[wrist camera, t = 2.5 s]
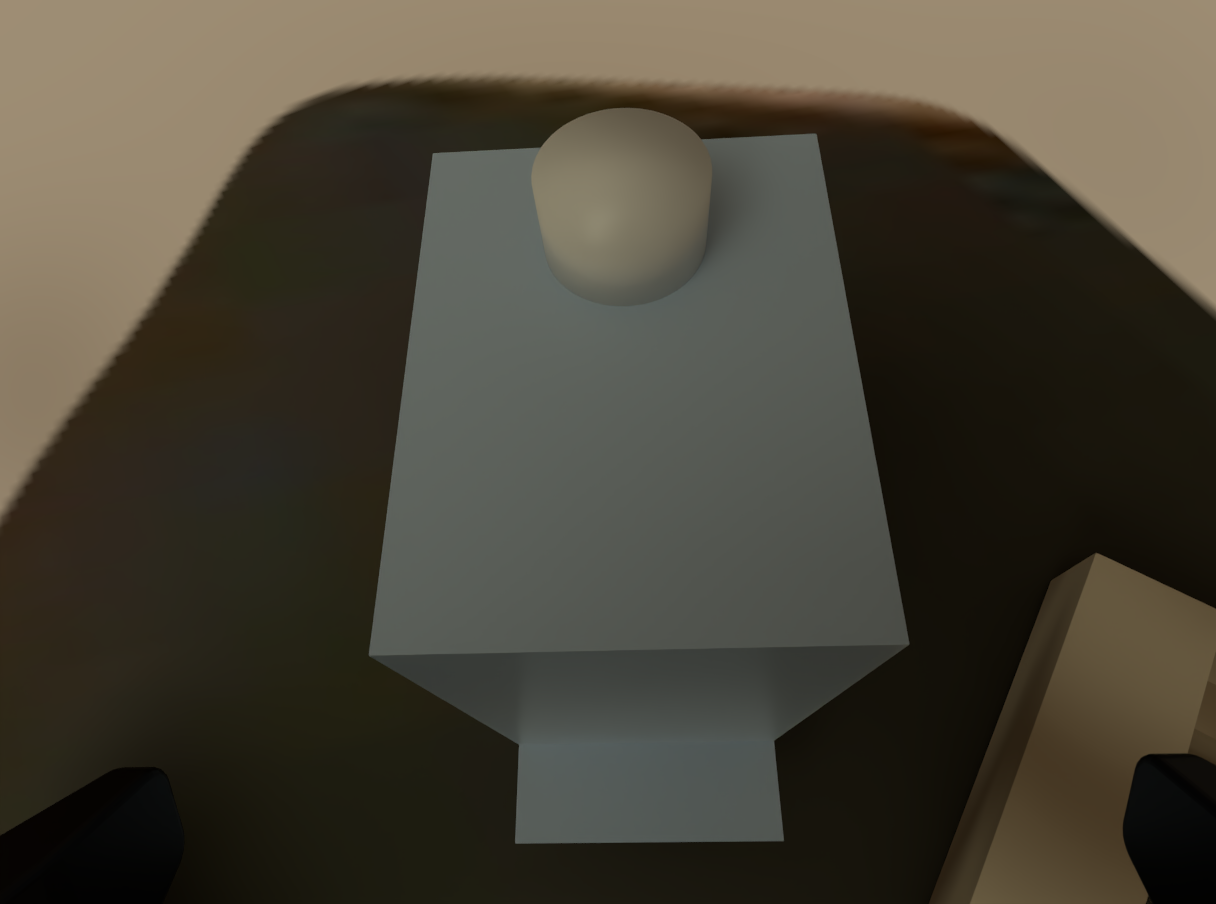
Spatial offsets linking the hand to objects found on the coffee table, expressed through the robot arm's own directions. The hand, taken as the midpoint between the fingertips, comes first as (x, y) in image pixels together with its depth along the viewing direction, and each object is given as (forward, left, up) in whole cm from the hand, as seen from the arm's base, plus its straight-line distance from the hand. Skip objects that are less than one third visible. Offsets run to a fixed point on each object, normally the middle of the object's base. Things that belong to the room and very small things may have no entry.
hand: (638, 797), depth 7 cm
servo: (+4, 0, -10) cm, 11 cm away
